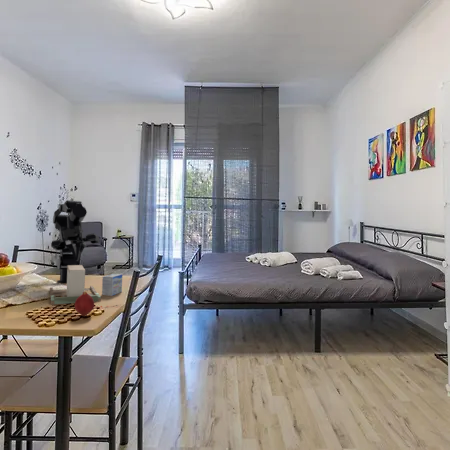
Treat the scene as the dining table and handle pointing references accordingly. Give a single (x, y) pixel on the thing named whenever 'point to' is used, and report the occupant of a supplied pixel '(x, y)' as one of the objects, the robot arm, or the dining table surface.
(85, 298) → the onion
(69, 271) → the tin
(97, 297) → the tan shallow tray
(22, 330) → the dining table surface
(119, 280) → the medicine box
